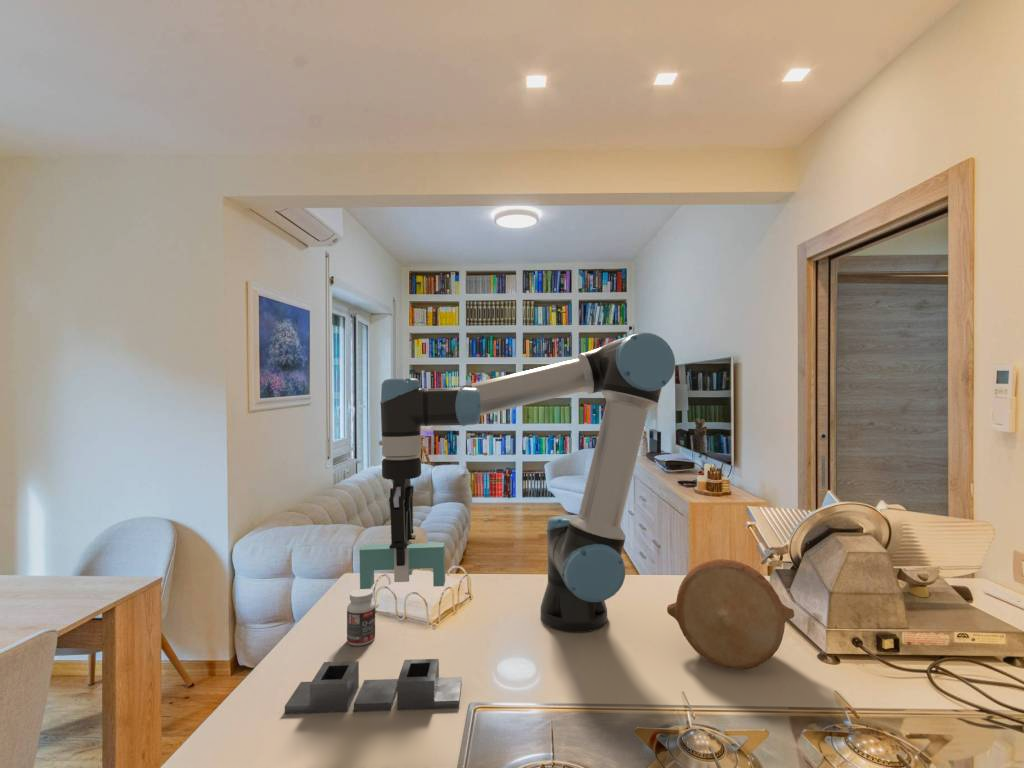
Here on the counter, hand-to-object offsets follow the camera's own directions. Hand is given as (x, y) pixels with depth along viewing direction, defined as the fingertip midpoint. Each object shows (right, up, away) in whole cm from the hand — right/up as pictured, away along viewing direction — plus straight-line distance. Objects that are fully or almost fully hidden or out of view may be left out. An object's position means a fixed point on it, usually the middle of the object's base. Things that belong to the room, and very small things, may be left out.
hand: (403, 577), depth 100 cm
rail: (-2, -15, -13) cm, 20 cm away
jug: (+66, -15, +4) cm, 68 cm away
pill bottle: (-10, -16, +7) cm, 20 cm away
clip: (0, -1, 0) cm, 1 cm away
